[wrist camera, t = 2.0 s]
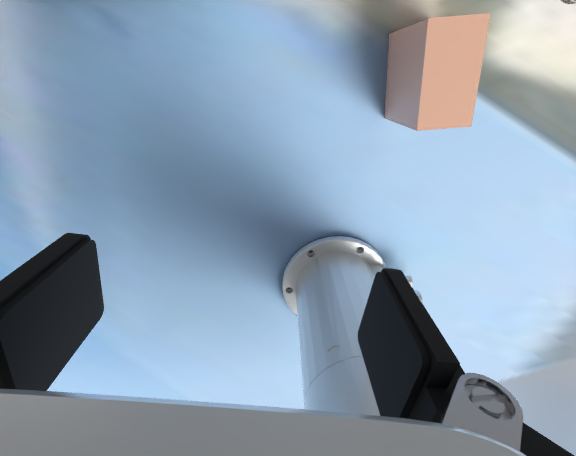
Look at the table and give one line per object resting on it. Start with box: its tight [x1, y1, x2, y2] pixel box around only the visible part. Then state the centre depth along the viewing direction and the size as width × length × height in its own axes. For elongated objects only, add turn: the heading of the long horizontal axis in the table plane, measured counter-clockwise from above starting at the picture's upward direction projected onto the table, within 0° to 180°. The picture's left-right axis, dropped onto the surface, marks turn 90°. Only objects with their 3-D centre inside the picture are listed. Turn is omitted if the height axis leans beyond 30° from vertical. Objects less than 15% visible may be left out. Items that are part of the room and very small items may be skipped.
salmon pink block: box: [384, 13, 491, 131], centre depth 25 cm, size 4×7×8 cm, turn 4°
